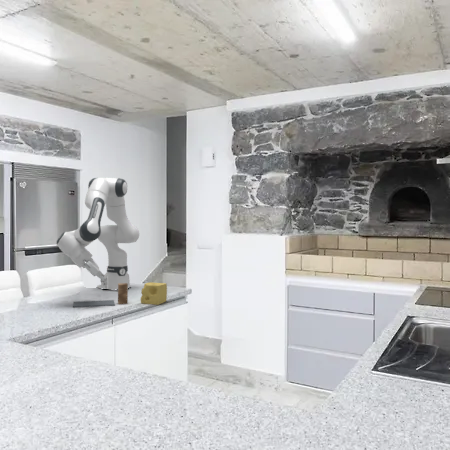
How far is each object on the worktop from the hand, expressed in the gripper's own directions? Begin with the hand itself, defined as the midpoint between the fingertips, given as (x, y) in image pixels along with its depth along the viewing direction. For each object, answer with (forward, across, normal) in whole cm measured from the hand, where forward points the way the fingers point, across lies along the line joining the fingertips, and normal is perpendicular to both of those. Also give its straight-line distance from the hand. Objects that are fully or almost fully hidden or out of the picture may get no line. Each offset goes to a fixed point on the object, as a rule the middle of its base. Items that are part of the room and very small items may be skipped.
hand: (103, 278), depth 233 cm
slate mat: (+6, +1, +12) cm, 14 cm away
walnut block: (+16, 0, +2) cm, 16 cm away
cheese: (+28, -1, -9) cm, 29 cm away
